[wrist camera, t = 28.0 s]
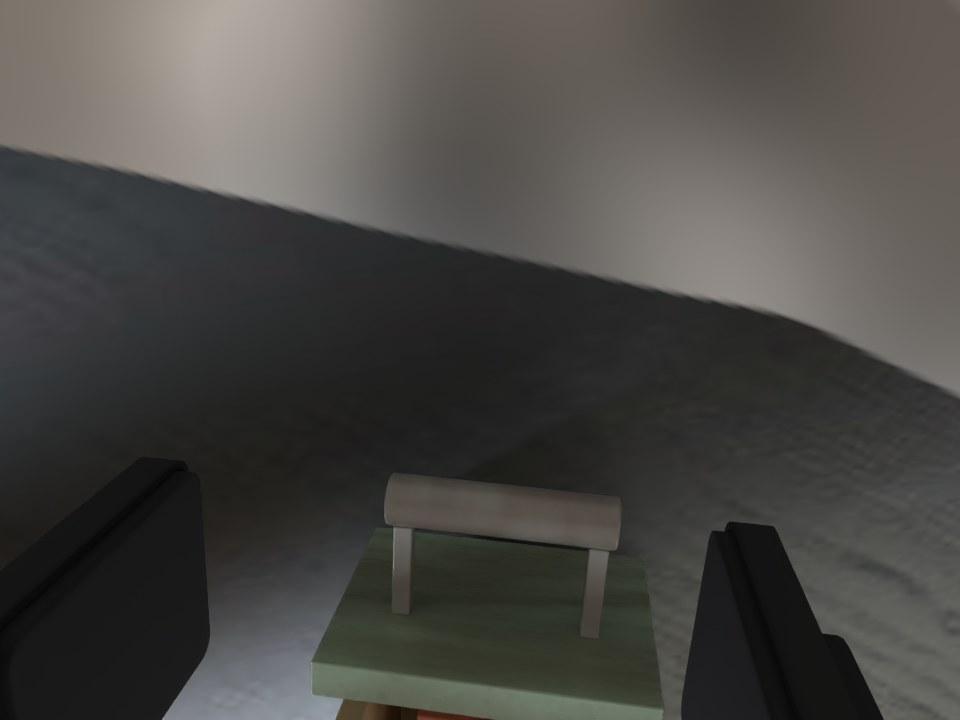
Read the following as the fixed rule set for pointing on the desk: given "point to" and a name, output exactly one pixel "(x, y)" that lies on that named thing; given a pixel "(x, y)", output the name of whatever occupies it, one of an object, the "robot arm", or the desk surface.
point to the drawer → (493, 610)
